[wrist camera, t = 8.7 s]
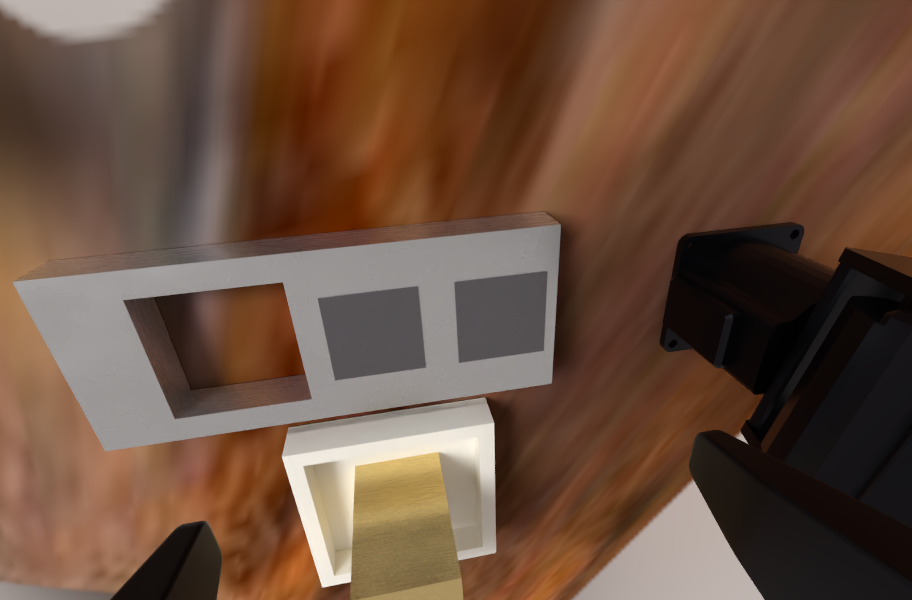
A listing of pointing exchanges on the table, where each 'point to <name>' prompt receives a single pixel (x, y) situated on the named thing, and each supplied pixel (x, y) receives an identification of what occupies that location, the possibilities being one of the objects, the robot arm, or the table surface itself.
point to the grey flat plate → (309, 324)
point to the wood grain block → (403, 533)
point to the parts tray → (381, 439)
